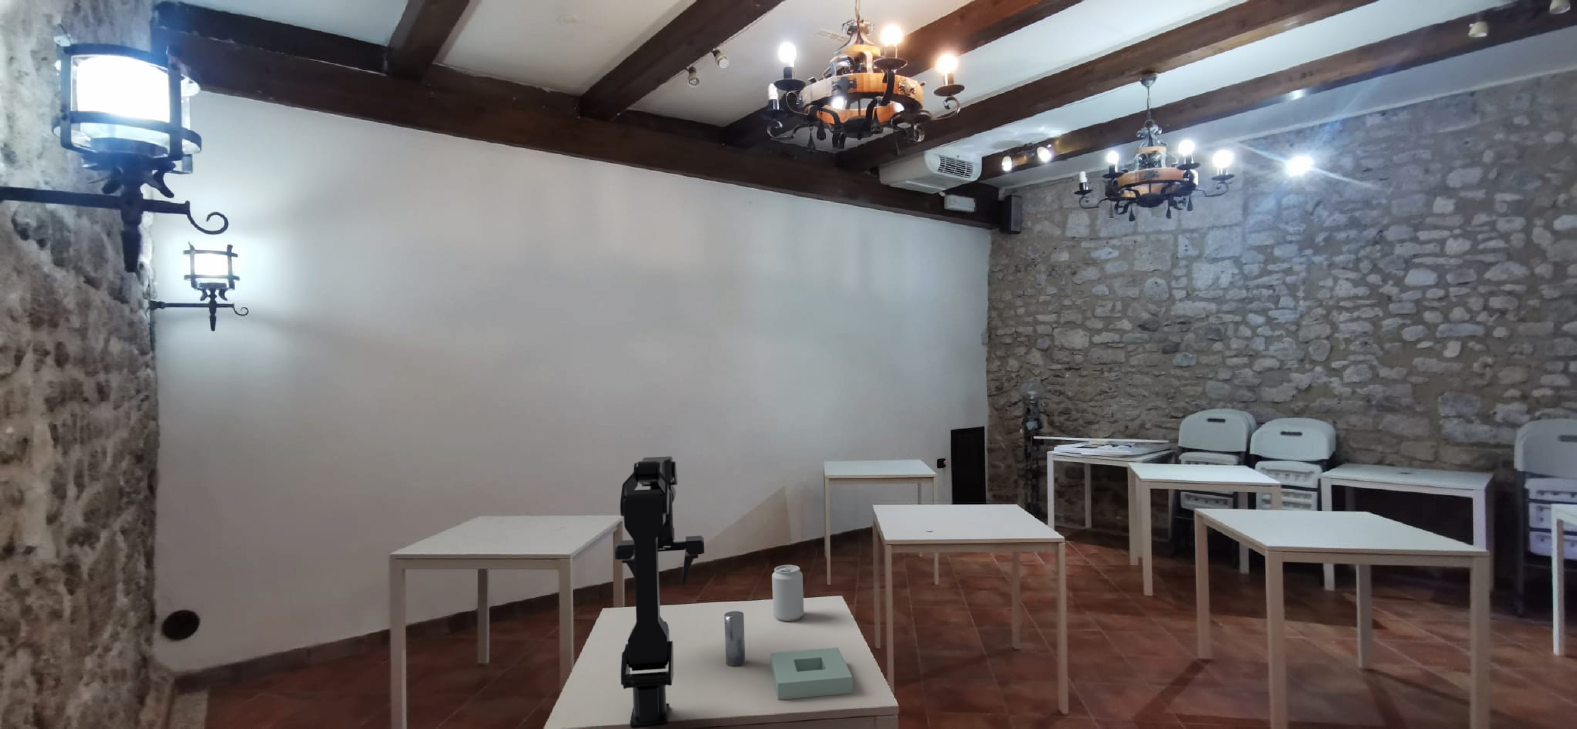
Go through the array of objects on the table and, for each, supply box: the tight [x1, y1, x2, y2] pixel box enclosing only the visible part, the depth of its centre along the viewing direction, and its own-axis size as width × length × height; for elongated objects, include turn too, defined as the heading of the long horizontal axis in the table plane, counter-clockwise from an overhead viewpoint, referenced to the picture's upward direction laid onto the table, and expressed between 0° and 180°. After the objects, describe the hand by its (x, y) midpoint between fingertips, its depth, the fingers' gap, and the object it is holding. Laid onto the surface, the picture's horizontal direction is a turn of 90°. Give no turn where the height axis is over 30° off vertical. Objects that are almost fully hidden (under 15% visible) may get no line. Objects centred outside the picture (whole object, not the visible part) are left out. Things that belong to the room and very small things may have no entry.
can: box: [771, 564, 805, 622], centre depth 173 cm, size 8×8×12 cm
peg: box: [724, 610, 746, 668], centre depth 148 cm, size 4×4×10 cm
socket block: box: [770, 647, 854, 701], centre depth 138 cm, size 14×14×3 cm
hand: (661, 587), depth 154 cm, fingers open, 9 cm apart
